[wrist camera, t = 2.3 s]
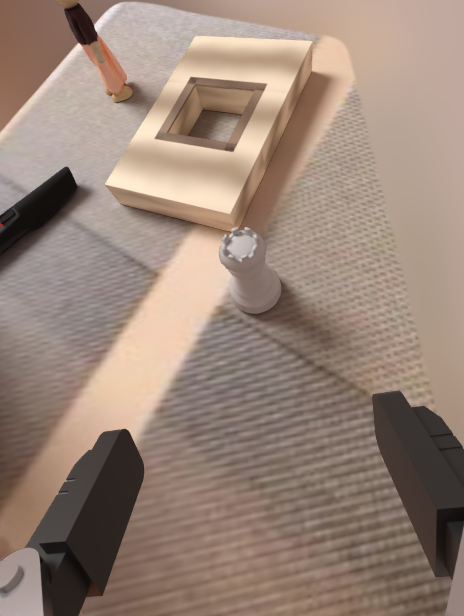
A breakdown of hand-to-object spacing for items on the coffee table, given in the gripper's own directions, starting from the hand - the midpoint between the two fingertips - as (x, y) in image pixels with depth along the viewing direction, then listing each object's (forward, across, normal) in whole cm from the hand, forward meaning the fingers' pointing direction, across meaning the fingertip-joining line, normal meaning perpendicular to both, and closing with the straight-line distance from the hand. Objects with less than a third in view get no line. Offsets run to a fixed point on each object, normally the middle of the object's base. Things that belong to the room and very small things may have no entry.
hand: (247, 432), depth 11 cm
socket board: (+32, +2, -12) cm, 34 cm away
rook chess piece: (+19, 0, +2) cm, 19 cm away
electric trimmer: (+28, +25, -7) cm, 38 cm away
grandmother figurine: (+41, +14, -20) cm, 48 cm away
